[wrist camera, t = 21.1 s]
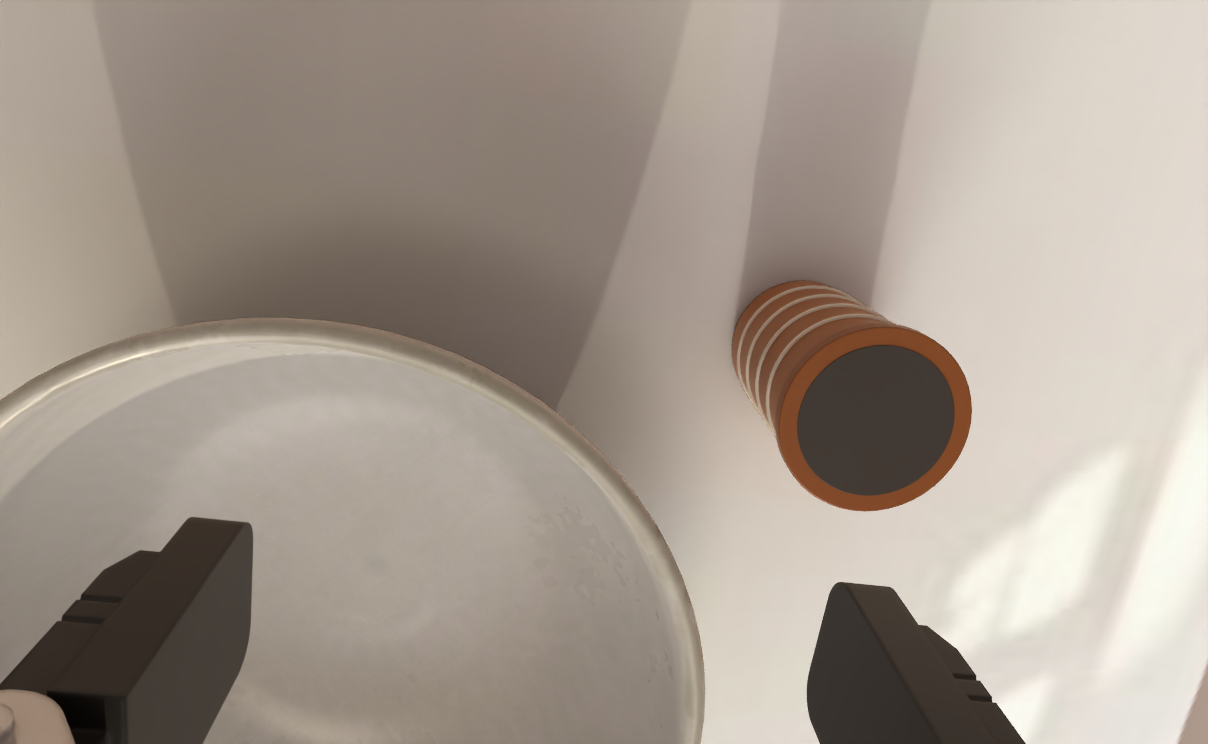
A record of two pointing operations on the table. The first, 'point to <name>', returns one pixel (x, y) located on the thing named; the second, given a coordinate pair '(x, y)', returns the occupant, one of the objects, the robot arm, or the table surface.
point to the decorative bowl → (358, 536)
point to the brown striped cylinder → (851, 396)
